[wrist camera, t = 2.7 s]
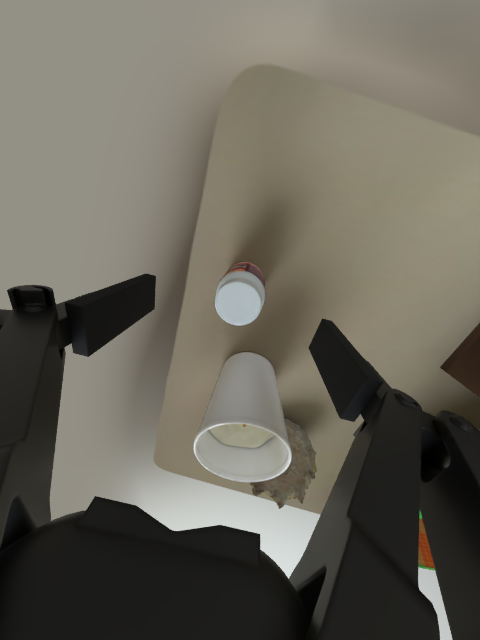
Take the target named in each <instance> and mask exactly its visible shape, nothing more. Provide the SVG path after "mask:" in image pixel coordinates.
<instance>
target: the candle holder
mask: <svg viewBox="0 0 480 640" xmlns="http://www.w3.org/2000/svg"><path fill="white" fill-rule="evenodd" d="M193 448H194V453H195V456H196V458H197V459H198V461H199V462H200V463H201V464H202V465H203V466H204V467H205V468H206V469H207V470H209V471H210V472H212V473H214V474H216V475H218V476H220V477H223V478H226V479H229V480H234V481H240V482H260V481H265V480H269V479H272V478H275V477H277V476H279V475H280V474H282V473H283V472H284V471H285V470H286V469H287V468H288V467H289V465H290V463H291V459H292V451H291V447H290V444H289V440H288V435H287V430H286V425H285V420H284V415H283V410H282V405H281V400H280V395H279V390H278V385H277V380H276V375H275V371H274V368H273V366H272V365H271V363H270V362H269V361H268V360H267V359H266V358H264V357H263V356H261V355H259V354H256V353H251V352H242V353H237V354H235V355H233V356H231V357H229V358H228V359H227V360H226V361H225V363H224V364H223V366H222V369H221V371H220V374H219V376H218V379H217V382H216V384H215V387H214V390H213V393H212V395H211V398H210V401H209V404H208V406H207V409H206V412H205V415H204V417H203V420H202V423H201V426H200V428H199V431H198V433H197V435H196V437H195V440H194V446H193Z"/></svg>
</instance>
